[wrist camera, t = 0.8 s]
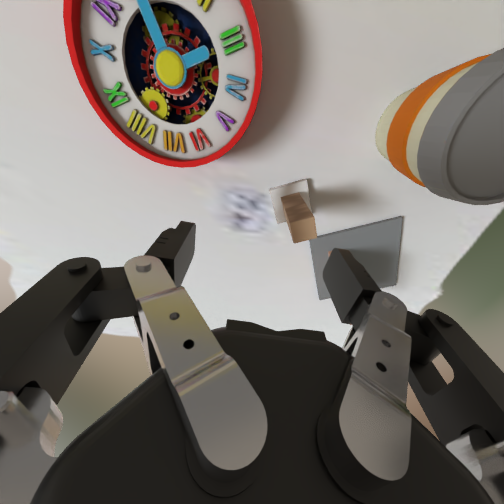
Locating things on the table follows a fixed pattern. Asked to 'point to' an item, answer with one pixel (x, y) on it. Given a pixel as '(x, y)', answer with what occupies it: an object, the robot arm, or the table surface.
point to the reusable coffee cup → (451, 132)
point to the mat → (362, 251)
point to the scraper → (294, 209)
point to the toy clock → (168, 72)
